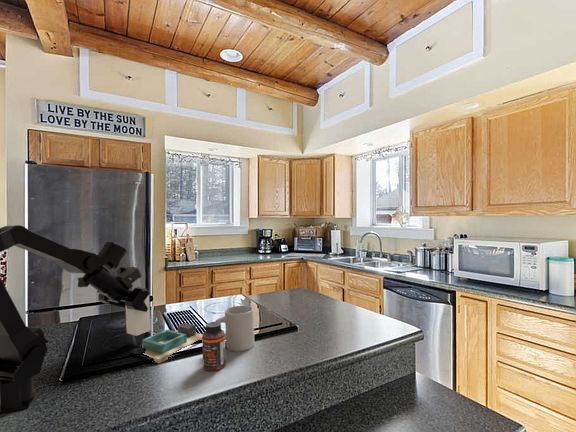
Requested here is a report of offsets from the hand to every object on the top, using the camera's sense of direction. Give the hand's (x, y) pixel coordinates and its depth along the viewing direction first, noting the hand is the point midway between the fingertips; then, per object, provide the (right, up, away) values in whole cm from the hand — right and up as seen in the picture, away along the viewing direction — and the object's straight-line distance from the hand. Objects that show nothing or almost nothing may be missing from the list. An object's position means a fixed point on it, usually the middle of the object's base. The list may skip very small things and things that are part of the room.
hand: (141, 309), depth 103 cm
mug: (+31, -10, -6) cm, 33 cm away
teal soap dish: (+11, -10, -4) cm, 15 cm away
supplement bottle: (+28, -10, -18) cm, 34 cm away
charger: (0, -7, -1) cm, 7 cm away
